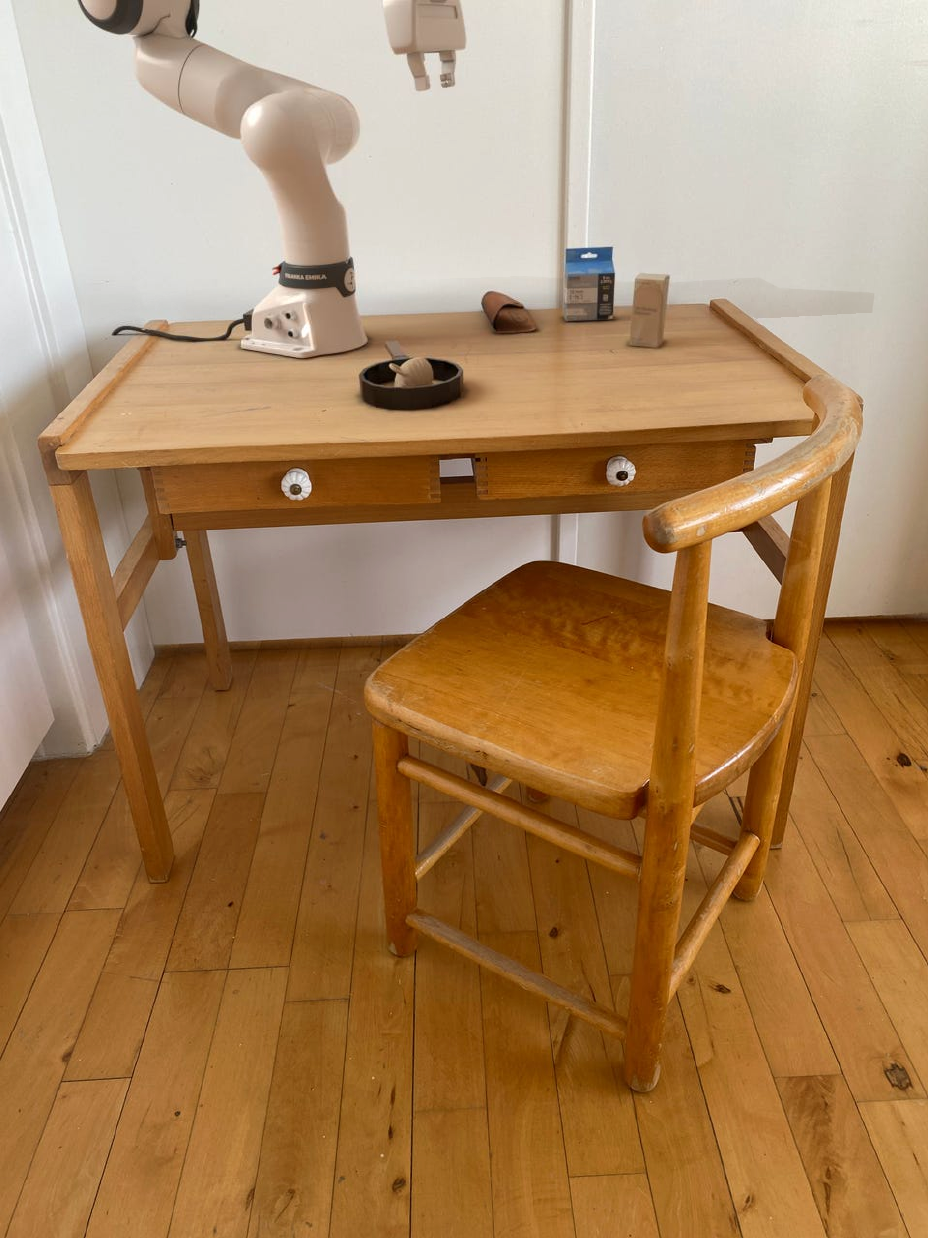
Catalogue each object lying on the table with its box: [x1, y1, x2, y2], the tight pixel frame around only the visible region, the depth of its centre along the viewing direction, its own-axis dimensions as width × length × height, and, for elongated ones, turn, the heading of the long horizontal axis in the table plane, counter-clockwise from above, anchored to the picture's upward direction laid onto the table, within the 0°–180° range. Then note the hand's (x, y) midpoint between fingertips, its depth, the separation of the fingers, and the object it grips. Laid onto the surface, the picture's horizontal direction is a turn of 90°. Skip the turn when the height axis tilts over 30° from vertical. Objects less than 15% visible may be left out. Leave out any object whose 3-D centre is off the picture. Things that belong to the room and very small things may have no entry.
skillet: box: [358, 340, 465, 411], centre depth 142 cm, size 26×15×3 cm, turn 14°
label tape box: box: [563, 246, 616, 322], centre depth 169 cm, size 9×4×12 cm, turn 90°
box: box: [628, 272, 671, 349], centre depth 154 cm, size 5×4×11 cm
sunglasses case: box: [480, 290, 537, 335], centre depth 172 cm, size 18×7×7 cm
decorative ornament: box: [389, 356, 435, 387], centre depth 137 cm, size 4×8×5 cm, turn 129°
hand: (436, 88), depth 135 cm, fingers open, 8 cm apart
